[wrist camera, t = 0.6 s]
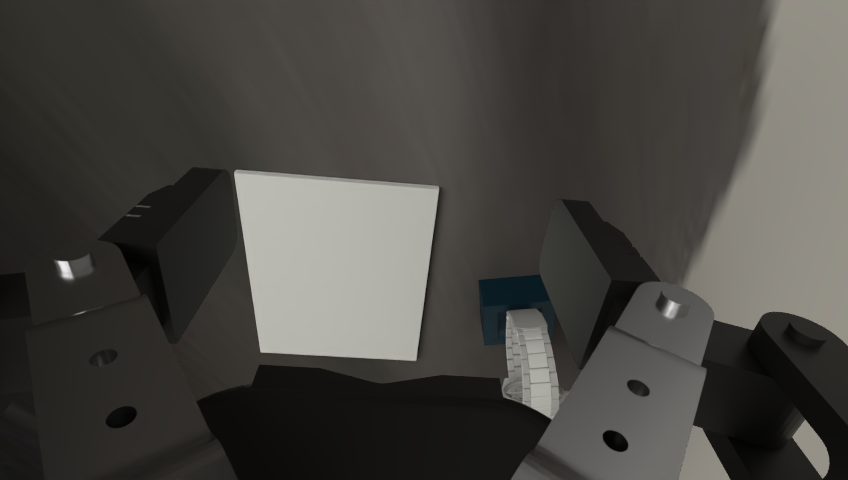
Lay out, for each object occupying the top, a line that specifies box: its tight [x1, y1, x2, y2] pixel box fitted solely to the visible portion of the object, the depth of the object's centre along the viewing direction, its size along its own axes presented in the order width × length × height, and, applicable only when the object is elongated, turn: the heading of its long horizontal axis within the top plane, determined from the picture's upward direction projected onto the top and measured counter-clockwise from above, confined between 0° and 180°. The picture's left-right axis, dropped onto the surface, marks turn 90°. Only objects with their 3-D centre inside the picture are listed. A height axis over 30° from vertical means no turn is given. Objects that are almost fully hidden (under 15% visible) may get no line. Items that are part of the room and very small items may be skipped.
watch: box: [479, 275, 569, 419], centre depth 35 cm, size 6×8×11 cm
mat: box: [234, 170, 439, 361], centre depth 38 cm, size 18×14×1 cm
